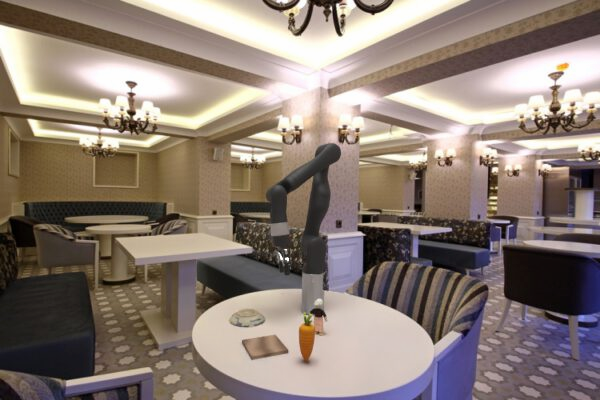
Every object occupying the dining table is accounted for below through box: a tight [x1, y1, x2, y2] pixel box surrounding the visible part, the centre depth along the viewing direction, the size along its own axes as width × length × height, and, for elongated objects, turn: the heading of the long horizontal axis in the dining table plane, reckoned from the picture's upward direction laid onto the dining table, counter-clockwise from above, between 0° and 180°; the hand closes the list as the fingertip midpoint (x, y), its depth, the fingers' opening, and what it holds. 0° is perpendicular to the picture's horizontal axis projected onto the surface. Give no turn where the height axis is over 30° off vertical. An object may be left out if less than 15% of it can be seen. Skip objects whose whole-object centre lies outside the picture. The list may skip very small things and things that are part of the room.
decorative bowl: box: [228, 308, 267, 328], centre depth 126 cm, size 15×4×15 cm
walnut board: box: [241, 334, 289, 361], centre depth 102 cm, size 12×12×1 cm
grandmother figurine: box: [308, 299, 329, 336], centre depth 115 cm, size 8×4×13 cm, turn 71°
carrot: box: [298, 312, 316, 363], centre depth 94 cm, size 5×5×15 cm
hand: (284, 273), depth 127 cm, fingers open, 8 cm apart
